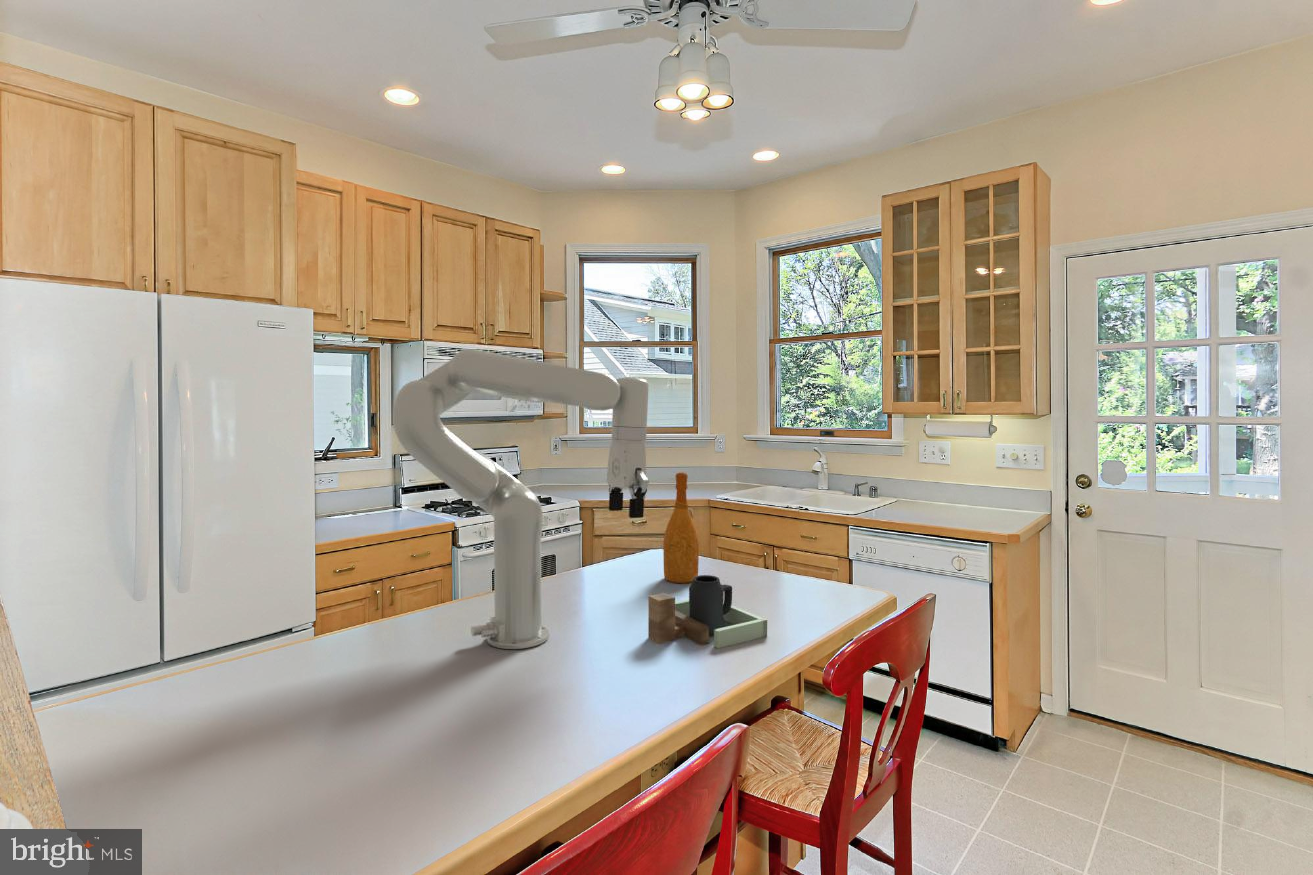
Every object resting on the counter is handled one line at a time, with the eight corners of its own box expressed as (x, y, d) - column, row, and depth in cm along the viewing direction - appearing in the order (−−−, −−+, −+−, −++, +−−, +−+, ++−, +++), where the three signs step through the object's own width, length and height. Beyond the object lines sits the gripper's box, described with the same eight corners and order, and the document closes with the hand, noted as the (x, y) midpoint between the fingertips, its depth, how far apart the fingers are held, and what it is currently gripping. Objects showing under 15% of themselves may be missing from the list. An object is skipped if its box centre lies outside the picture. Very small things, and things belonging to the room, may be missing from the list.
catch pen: (717, 648, 131) (717, 631, 131) (662, 619, 149) (662, 604, 148) (767, 636, 138) (767, 619, 138) (708, 610, 156) (708, 595, 155)
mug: (706, 639, 136) (706, 586, 136) (676, 628, 143) (676, 577, 142) (744, 627, 144) (745, 576, 143) (714, 616, 151) (715, 568, 150)
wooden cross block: (671, 651, 130) (672, 607, 129) (636, 630, 141) (636, 589, 141) (708, 643, 134) (709, 600, 134) (671, 623, 146) (671, 583, 146)
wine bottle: (699, 584, 178) (700, 474, 176) (663, 584, 178) (663, 474, 176) (697, 575, 187) (698, 470, 186) (663, 574, 188) (663, 470, 186)
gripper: (596, 432, 147) (593, 508, 148) (632, 437, 132) (628, 521, 133) (626, 433, 151) (623, 507, 151) (664, 437, 136) (660, 519, 136)
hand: (625, 513), depth 142 cm, fingers open, 9 cm apart
